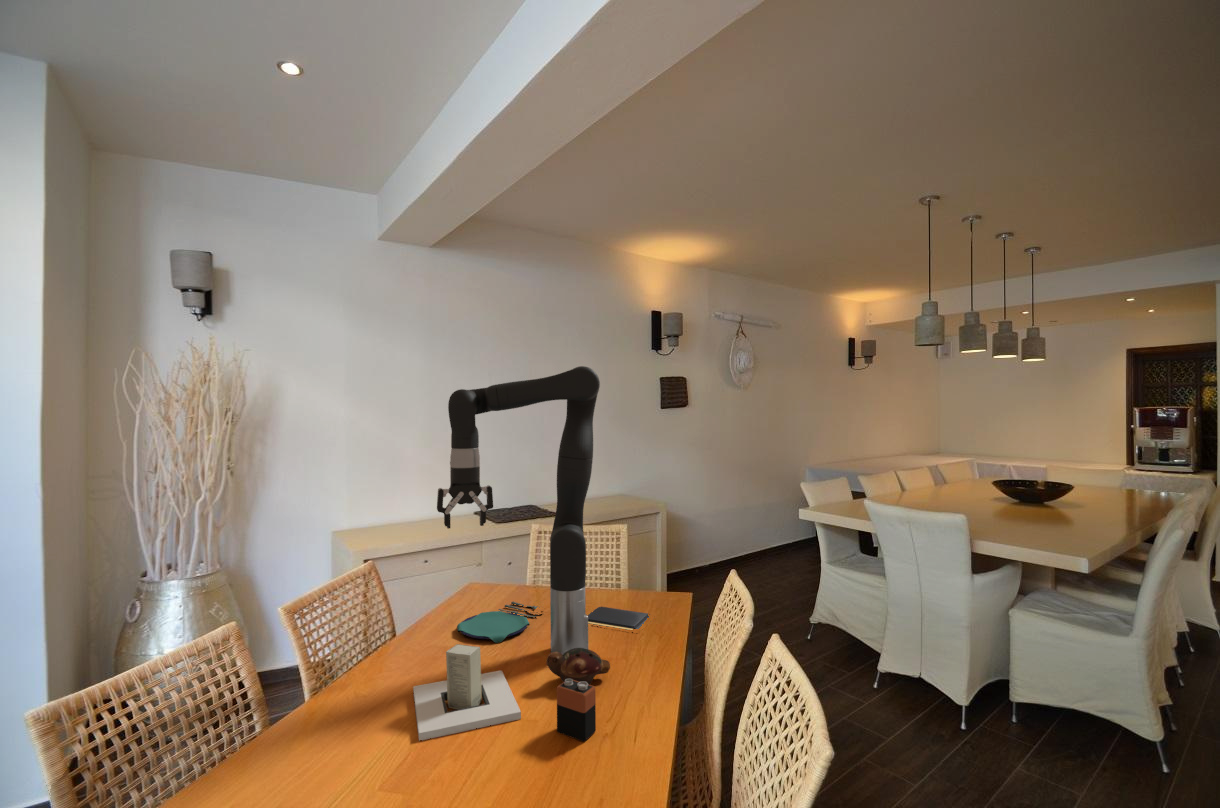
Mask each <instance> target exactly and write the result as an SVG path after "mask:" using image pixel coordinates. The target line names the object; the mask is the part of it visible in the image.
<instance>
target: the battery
mask: <svg viewBox="0 0 1220 808" xmlns="http://www.w3.org/2000/svg"><path fill="white" fill-rule="evenodd" d="M596 704H597V703H596V686H594V685H588V683H587V682H578V681H575V680H572V679H565V682H563V681H562V683H560V684H559V685H558V686H557V687H556V731H557V733H559V734H561V735H563V736H567V737H570V738H572V739H576V740H578V741H581V742H586V741H587V740H588V739H589V738H590V737H591V736H593V734H595V732H596V730H597V729H596V727H597V726H596V721H597V720H596V718H597V717H596V716H597V715H596Z"/></svg>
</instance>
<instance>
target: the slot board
mask: <svg viewBox="0 0 1220 808" xmlns="http://www.w3.org/2000/svg"><path fill="white" fill-rule="evenodd" d="M412 689H413V690H412V691H413V692H412V693H414V694H413V701H414V702H415V703H414V709H415V710H414V711H415V719H416V720H415V721H416V725H417V736H418V742H420V740H422V741H425V740H430V738H431V739H435V738H440V737H444V736H449V735H452V734H453V735H454V734H457V733H462V732H463V733H464V732H468V731H472V730H476V728H477V729H481V728H486V727H490V725H491V726H495V725H499V724H503V723H509V722H513V721H518V720H521V719H522V712H521V709H520V706H519V704H518V702H517V700H516V698H515V696H514V694H513V691H512V689H511V688H510V684H509V683H508V680H507V679H506V676H505V674H504V672H503V670H496V671H490V672H485V673H481V690H482V702H483V703H482V704H479V705H477V706H472V707H467V708H462V709H453V710H449V711H448V705H447V702H446V701H448V697H447V679H446V680H441V681H435V682H429V683H424V684H420V685H414V686H412Z"/></svg>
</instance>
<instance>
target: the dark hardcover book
mask: <svg viewBox="0 0 1220 808" xmlns="http://www.w3.org/2000/svg"><path fill="white" fill-rule="evenodd" d="M592 611H593V612H592ZM592 611H591V612H590V613H589V614H586V615H587V616H588V624H593V625H599V626H606V627H613V628H619V629H625V630H633V629H639V628H640V627H641V626H642V624H644V622H645V621H646V620H647V618H649V616H648V614H649V613H647V612H646V613H645V612H640V611H635V610H627V609H620V608H615V607H607V606H598V607H596V608H595V609H593V610H592Z"/></svg>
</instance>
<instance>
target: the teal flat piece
mask: <svg viewBox="0 0 1220 808" xmlns="http://www.w3.org/2000/svg"><path fill="white" fill-rule="evenodd" d="M511 604H516V605H511ZM517 605H522V606H524V605H525V604H522V603H519V602H515V601H511V603H510V605H509V604H504V608H506V607H508V609H514V610H507V609H506V610H505V609H501V608H498V610H500V611H498V610H496V611H493V610H492V611H484V612H480V613H478V614H475V615H472V616H469V617H468V618H466V619H463V620H462V621H461V622H459V623H458V624H457V625H456V628H457V633H460V634H463V635H464V636H467V637H469V638H473V639H479V640H492V642H493V643H496V644H499V642H500V643H502V642H503V641H504V640H505V639H506V638H508V637H512V636H515V635H518V634H520V633H522V632H523V631H524V630H526V629H527V627H528V626H530V622H529V617H536V616H539V615H538V614H539V613H537V614H536V613H534V614H535V615H530V614H532V612H530V614H525V613H522V612H521V613H520V612H519V611H521V610H524V611H523V612H525V610H526V609H523V608H520V607H519V606H517ZM526 606H527V607H532V608H531V609H533V608H534V609H536V608H537V607H539V606H538V605H537V606H535V605H532V606H531V605H526ZM517 609H518V611H516V610H517ZM534 609H533V610H534ZM529 610H530V609H529ZM529 610H527V611H529ZM510 612H511V613H510ZM513 613H515V614H513ZM517 614H520V615H524V616H528V617H524V616H520V615H517Z"/></svg>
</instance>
